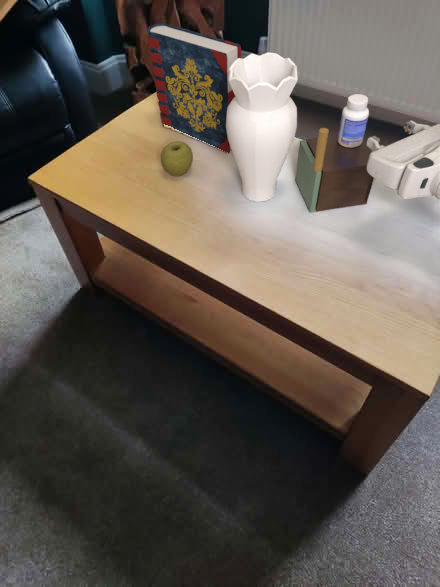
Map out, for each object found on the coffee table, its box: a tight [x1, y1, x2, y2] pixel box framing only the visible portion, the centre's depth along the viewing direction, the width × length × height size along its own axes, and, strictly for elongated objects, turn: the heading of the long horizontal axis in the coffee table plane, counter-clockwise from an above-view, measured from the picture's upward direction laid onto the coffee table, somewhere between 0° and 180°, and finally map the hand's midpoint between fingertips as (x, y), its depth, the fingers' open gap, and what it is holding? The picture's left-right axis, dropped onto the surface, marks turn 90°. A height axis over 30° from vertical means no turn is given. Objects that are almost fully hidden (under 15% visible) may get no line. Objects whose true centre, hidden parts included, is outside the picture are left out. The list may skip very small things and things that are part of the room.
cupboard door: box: [294, 127, 330, 213], centre depth 93 cm, size 2×12×20 cm, turn 10°
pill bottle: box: [337, 93, 370, 148], centre depth 91 cm, size 5×5×10 cm
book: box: [146, 22, 242, 154], centre depth 109 cm, size 25×7×25 cm, turn 53°
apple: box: [160, 141, 194, 177], centre depth 106 cm, size 8×8×7 cm
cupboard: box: [305, 134, 375, 212], centre depth 97 cm, size 12×12×11 cm
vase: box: [226, 51, 299, 203], centre depth 92 cm, size 15×15×29 cm
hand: (388, 132), depth 84 cm, fingers open, 8 cm apart
